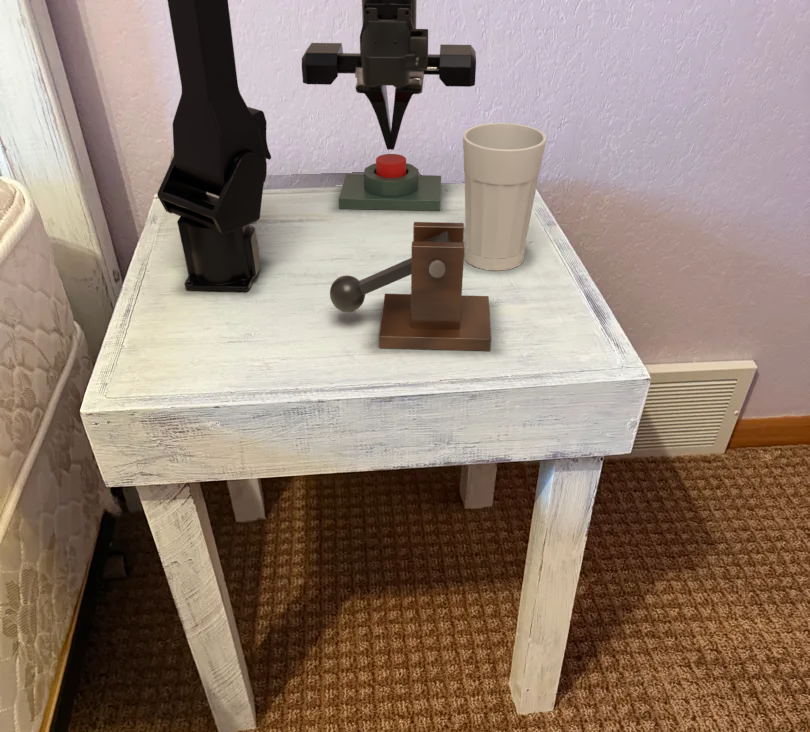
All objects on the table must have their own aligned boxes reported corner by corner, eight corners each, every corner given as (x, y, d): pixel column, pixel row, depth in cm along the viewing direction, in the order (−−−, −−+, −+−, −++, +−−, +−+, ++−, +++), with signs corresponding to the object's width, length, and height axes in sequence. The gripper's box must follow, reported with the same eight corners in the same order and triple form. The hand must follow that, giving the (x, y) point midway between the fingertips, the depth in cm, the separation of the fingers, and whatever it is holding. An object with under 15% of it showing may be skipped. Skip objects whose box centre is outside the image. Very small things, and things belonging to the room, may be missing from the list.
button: (375, 179, 90) (374, 164, 89) (377, 168, 93) (377, 153, 91) (405, 180, 90) (405, 164, 89) (406, 169, 93) (406, 153, 91)
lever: (338, 323, 70) (321, 294, 68) (342, 306, 72) (325, 277, 70) (459, 272, 66) (444, 239, 64) (459, 256, 68) (445, 223, 66)
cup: (528, 277, 78) (543, 153, 70) (451, 270, 79) (457, 147, 71) (534, 244, 84) (549, 125, 75) (462, 238, 85) (469, 120, 76)
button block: (339, 208, 91) (337, 182, 89) (346, 183, 96) (344, 158, 94) (439, 210, 90) (440, 184, 88) (440, 185, 96) (441, 160, 94)
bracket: (379, 348, 69) (376, 253, 62) (385, 304, 74) (383, 213, 68) (490, 351, 68) (498, 256, 62) (487, 307, 74) (495, 216, 68)
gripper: (286, 1, 73) (302, 172, 84) (481, 3, 72) (471, 175, 83) (303, -21, 81) (315, 138, 92) (479, -19, 80) (470, 141, 91)
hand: (390, 148), depth 89 cm, fingers closed
